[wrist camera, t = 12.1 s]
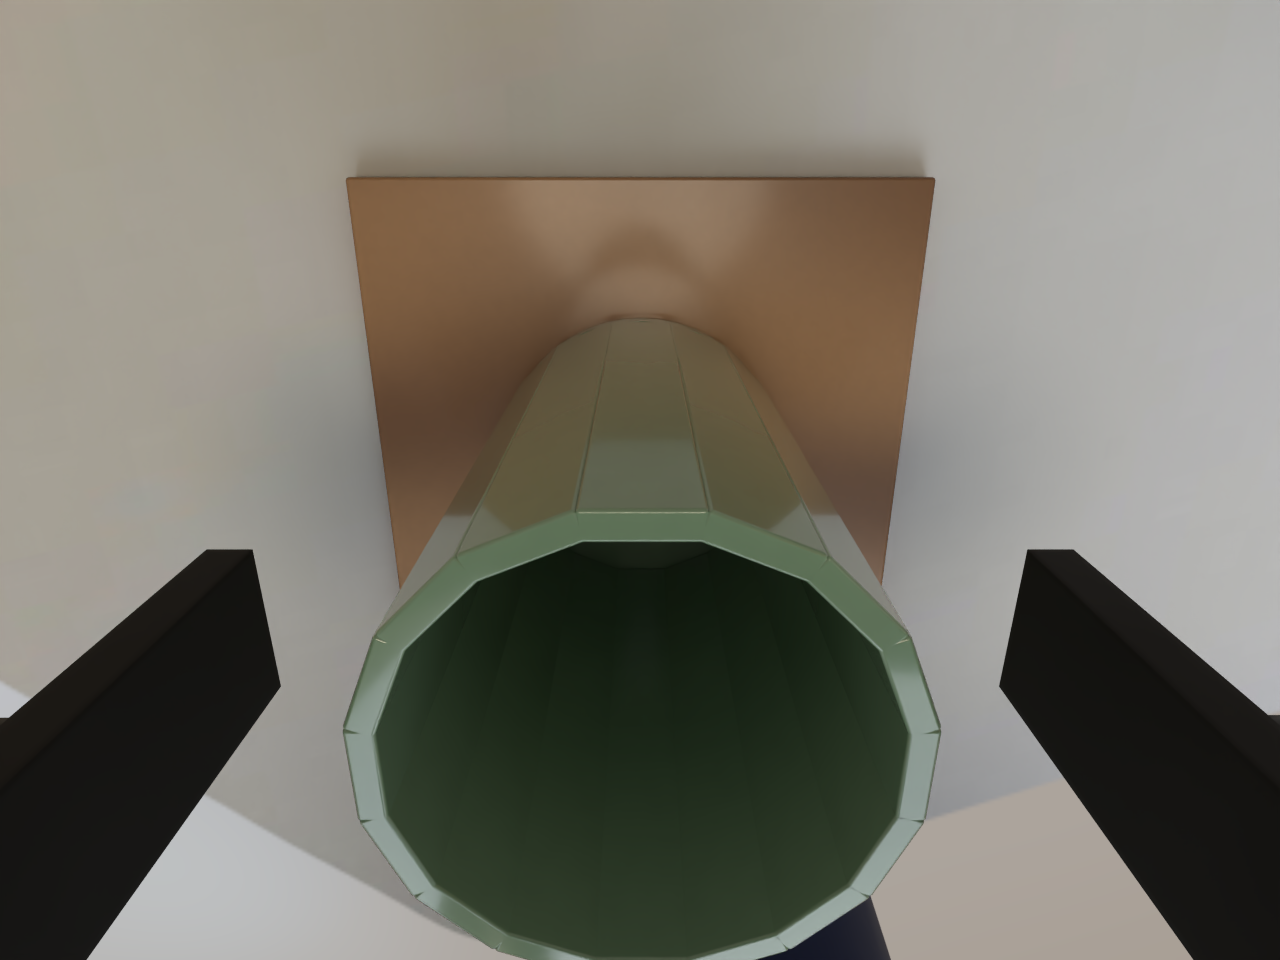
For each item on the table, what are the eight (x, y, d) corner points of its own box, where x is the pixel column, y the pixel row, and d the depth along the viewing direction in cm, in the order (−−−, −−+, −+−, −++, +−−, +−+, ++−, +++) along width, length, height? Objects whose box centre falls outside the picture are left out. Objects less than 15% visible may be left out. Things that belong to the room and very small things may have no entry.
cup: (766, 570, 22) (898, 980, 11) (515, 570, 22) (385, 979, 11) (783, 317, 19) (984, 510, 8) (498, 317, 19) (300, 509, 8)
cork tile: (865, 661, 24) (870, 672, 23) (415, 661, 24) (410, 673, 23) (928, 177, 19) (936, 176, 18) (353, 177, 19) (344, 177, 18)
